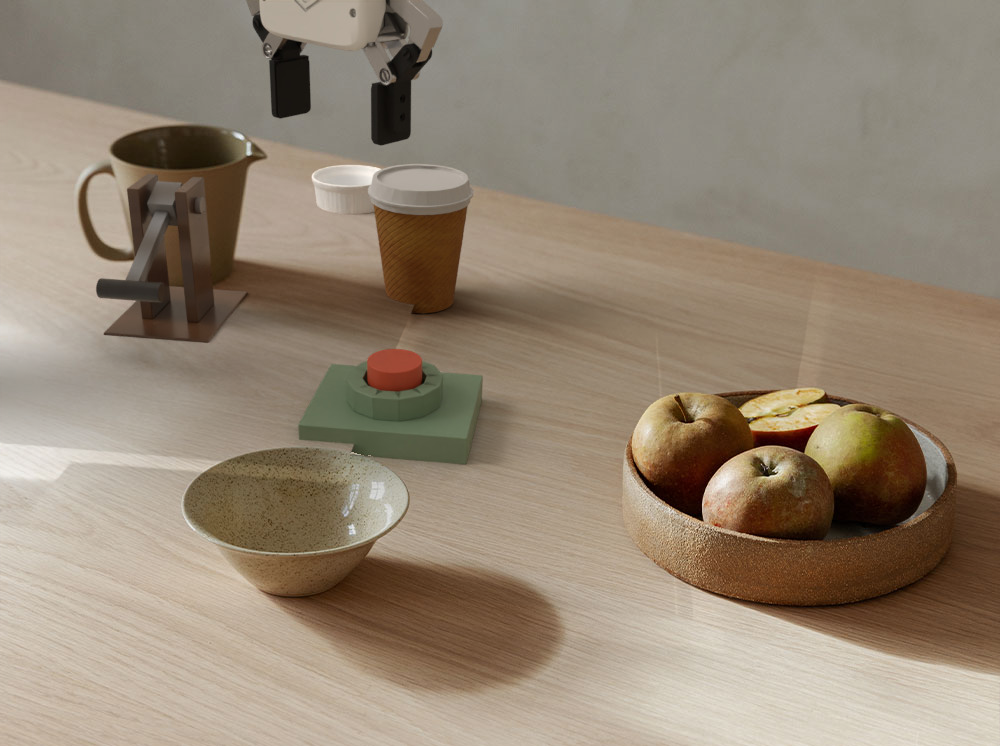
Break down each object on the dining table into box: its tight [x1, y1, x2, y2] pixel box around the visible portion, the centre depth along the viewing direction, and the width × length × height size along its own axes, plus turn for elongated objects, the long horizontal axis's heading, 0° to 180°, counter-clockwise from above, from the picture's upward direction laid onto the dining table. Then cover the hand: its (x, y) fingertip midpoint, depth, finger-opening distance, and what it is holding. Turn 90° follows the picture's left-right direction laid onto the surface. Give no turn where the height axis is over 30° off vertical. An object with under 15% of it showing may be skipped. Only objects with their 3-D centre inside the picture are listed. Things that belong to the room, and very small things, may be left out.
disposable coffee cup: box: [368, 163, 474, 314], centre depth 102 cm, size 10×10×12 cm
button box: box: [297, 360, 484, 465], centre depth 82 cm, size 12×10×4 cm
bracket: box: [103, 173, 248, 344], centre depth 95 cm, size 11×9×13 cm
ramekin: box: [311, 164, 382, 215], centre depth 126 cm, size 9×9×4 cm
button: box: [366, 348, 423, 392], centre depth 81 cm, size 4×4×2 cm
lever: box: [95, 180, 184, 303], centre depth 90 cm, size 12×5×2 cm, turn 175°
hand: (339, 127), depth 76 cm, fingers open, 9 cm apart
